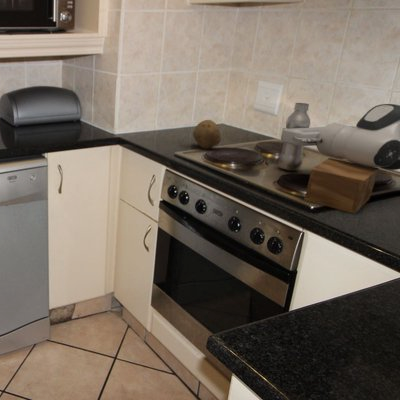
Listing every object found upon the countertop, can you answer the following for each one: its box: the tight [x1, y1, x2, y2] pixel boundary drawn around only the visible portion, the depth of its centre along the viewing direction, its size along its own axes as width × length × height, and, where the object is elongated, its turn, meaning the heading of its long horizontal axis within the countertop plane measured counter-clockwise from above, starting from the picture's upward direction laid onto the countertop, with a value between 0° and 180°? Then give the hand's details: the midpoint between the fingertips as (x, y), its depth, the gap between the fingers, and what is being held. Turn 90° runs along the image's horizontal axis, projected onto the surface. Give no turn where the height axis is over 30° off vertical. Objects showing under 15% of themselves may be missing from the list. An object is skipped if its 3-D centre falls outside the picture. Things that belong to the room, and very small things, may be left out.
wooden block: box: [303, 157, 380, 214], centre depth 123 cm, size 14×12×9 cm
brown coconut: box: [192, 119, 222, 150], centre depth 165 cm, size 9×9×10 cm
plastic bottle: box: [277, 102, 311, 171], centre depth 143 cm, size 6×7×20 cm
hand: (294, 130), depth 143 cm, fingers closed on plastic bottle, 6 cm apart
